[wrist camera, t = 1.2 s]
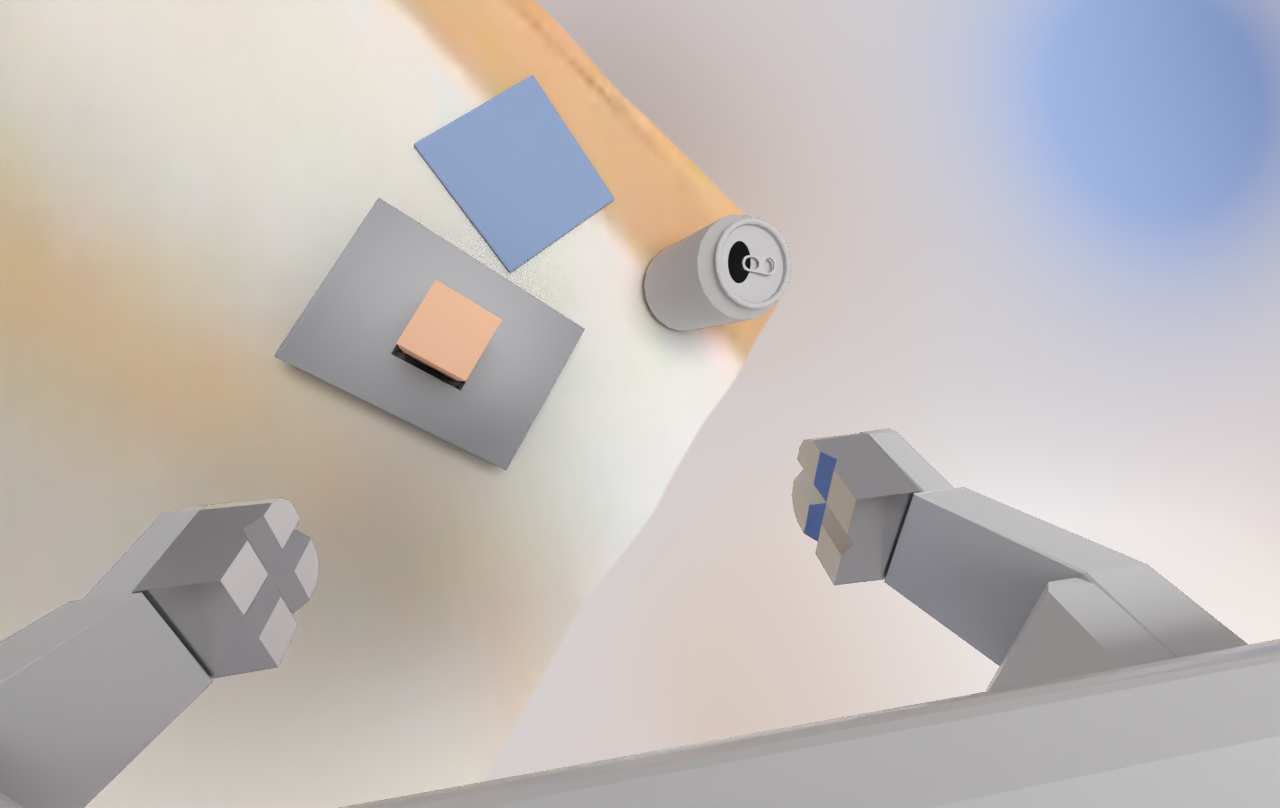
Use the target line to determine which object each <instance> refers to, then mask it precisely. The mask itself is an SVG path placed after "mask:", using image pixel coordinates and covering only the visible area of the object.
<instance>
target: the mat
mask: <svg viewBox="0 0 1280 808" xmlns="http://www.w3.org/2000/svg"><path fill="white" fill-rule="evenodd" d="M414 147H415V148H416V149H417V151H418V152H419V153H420V155H421V156H422V157H423V159H424V160H425V161H426V163H427V164H428V165H429V167H430V168H431V169H432V171H433V172H434V173H435V175H436V176H437V177H438V179H439V180H440V181H441V183H442V184H443V185H444V186H445V188H446V189H447V190H448V192H449V193H450V194H451V196H452V197H453V198H454V200H455V201H456V202H457V204H458V205H459V206H460V208H461V209H462V210H463V212H464V213H465V214H466V216H467V217H468V218H469V220H470V221H471V222H472V224H473V225H474V226H475V228H476V229H477V230H478V232H479V233H480V234H481V235H482V237H483V238H484V239H485V241H486V242H487V243H488V245H489V246H490V247H491V249H492V250H493V251H494V253H495V254H496V255H497V257H498V258H499V259H500V261H501V262H502V263H503V265H504V266H505V267H506V269H507V270H508V271H509V273H510V272H512V271H513V270H515V269H516V268H518V267H519V266H520V265H522V264H523V263H525V262H526V261H528V260H529V259H530V258H532V257H533V256H535V255H536V254H537V253H539V252H540V251H542V250H543V249H545V248H546V247H547V246H549V245H550V244H552V243H553V242H555V241H556V240H557V239H559V238H560V237H562V236H563V235H564V234H566V233H567V232H569V231H570V230H572V229H573V228H574V227H576V226H577V225H579V224H580V223H581V222H583V221H584V220H586V219H587V218H589V217H590V216H591V215H593V214H594V213H596V212H597V211H599V210H600V209H601V208H603V207H604V206H606V205H607V204H608V203H610V202H611V201H613V200H614V197H613V196H612V194H611V193H610V191H609V190H608V188H607V187H606V185H605V184H604V182H603V181H602V179H601V178H600V176H599V175H598V173H597V172H596V170H595V169H594V167H593V165H592V164H591V162H590V161H589V159H588V158H587V156H586V155H585V153H584V152H583V150H582V149H581V147H580V146H579V144H578V143H577V141H576V140H575V138H574V137H573V135H572V134H571V132H570V131H569V129H568V128H567V126H566V125H565V123H564V122H563V120H562V119H561V117H560V116H559V114H558V112H557V111H556V109H555V108H554V106H553V105H552V103H551V102H550V100H549V99H548V97H547V96H546V94H545V93H544V91H543V90H542V88H541V87H540V85H539V84H538V82H537V81H536V79H535V78H534V76H533V75H532V76H530V77H528V78H527V79H525V80H523V81H522V82H520V83H518V84H516V85H515V86H513V87H511V88H510V89H508V90H506V91H504V92H503V93H501V94H499V95H498V96H496V97H494V98H492V99H491V100H489V101H487V102H485V103H484V104H482V105H480V106H479V107H477V108H475V109H473V110H472V111H470V112H468V113H467V114H465V115H463V116H461V117H460V118H458V119H456V120H454V121H453V122H451V123H449V124H448V125H446V126H444V127H442V128H441V129H439V130H437V131H436V132H434V133H432V134H430V135H429V136H427V137H425V138H424V139H422V140H420V141H418V142H417V143H415V144H414Z"/></svg>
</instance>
